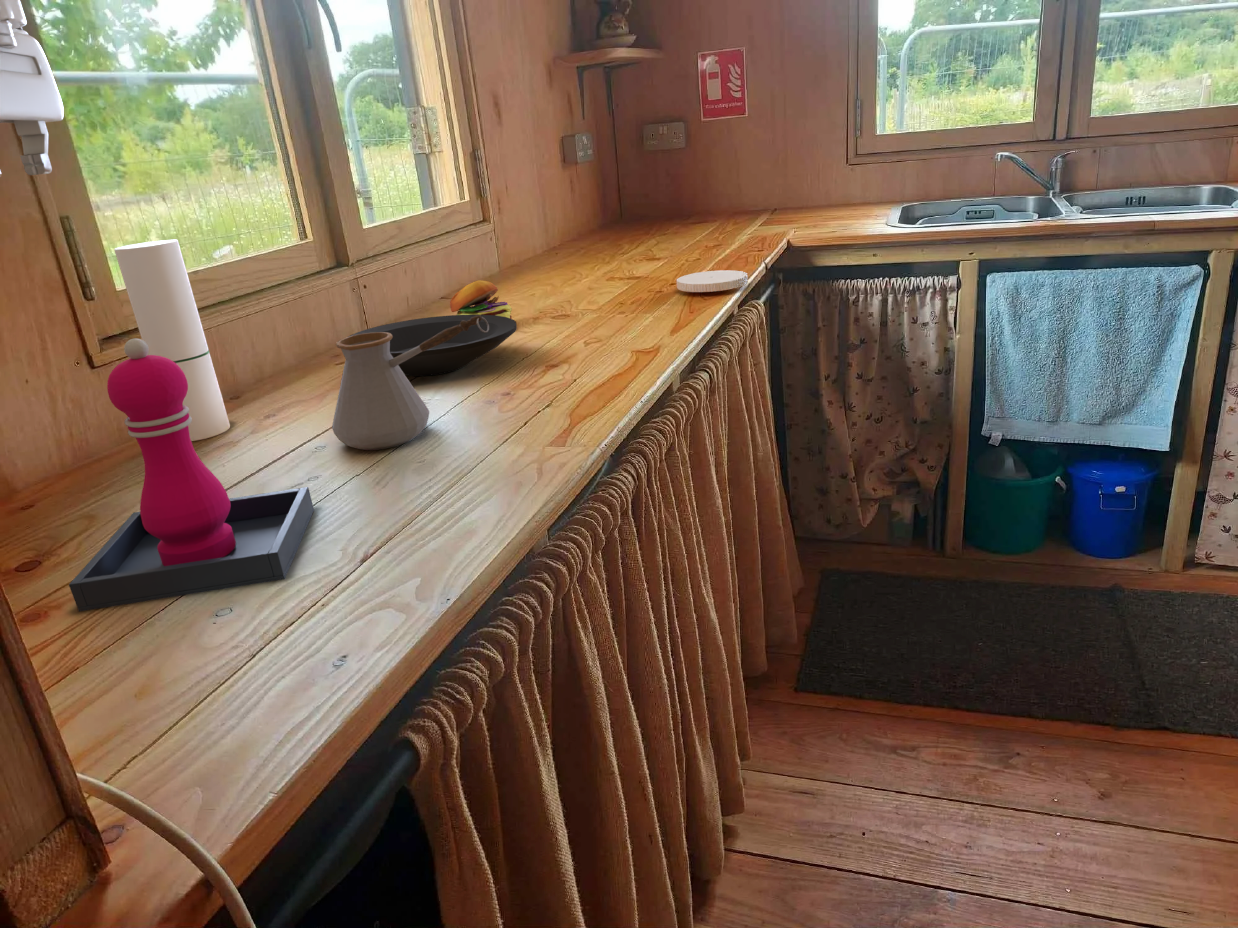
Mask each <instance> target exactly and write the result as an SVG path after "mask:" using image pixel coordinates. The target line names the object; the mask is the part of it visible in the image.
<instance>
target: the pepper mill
mask: <svg viewBox="0 0 1238 928" xmlns="http://www.w3.org/2000/svg"><path fill="white" fill-rule="evenodd" d="M123 347H124V348H123V349H124V354H125V356H127V357H128V359H126V360H123V361H122V362H119V363H118V364H117V365H116V366H115V367H114V368H113V369H112V370H111V372H110V373H109V375H108V378H107V382H106V383H107V386H106V388H107V394H108V398H109V401H110V403H111V404H112V405H113V406H114V407H115V408H116V409H117V410H118V411H120V412H122V413H123V414H125V415H126V416H127V417H126V418H125V419H124V425H125V426H126V427H127V429H128V431H127V435H128V436H129V437H132V438H135V440H136V442H137V444H138V446H139V448H140V450H141V451H140V452H141V456H142V459H143V464H144V477H143V478H144V479H143V485H142V490H141V495H140V502H139V512H140V514H141V519H142V524H143V526H144V528H145V530H146V531H147V532H148V533H149V534H151V535H153V536H154V537H156V538H158V539H160V540H161V541H160V542H159V544H158V546H157V549H158V552H159V555H160V558H161V561H162V564H163V565H164V566H169V565H176V564H182V563H189V562H195V561H202V560H208V559H215V558H221V557H225V556H226V555H228V554H229V553H231V552H232V551H233V549H234V548H235V545H236V541H235V537H234V534H233V531H232V527H231V526H230V525H228V524H226V523H224V522H225V520H226V518H227V516H228V514H229V511H230V507H231V504H230V500H229V498H230V497H229V495H228V492H227V490H226V489H225V487H224V486H223V484H222V482H221V481H220V480H219V479H218V478H217V476H216V475H215V474H214V473H213V472H212V471H211V469H209V468H208V467H207V466H206V465H205V464H204V462H203V461H202V460H201V458H200V457H199V455H198V454H197V452H196V450H195V448H194V445H193V441H191V439H190V434H189V428H188V425H189V424H190V423H191V422H192V418H191V417H190V416H189V413H188V412H189V408H188V407H187V406H185V405H183V400H184V398H185V397H186V394H187V391H188V383H187V379H186V377H185V374H184V372H183V371H182V369H181V368H180V367H179V366H178V365H177V364H176V363H175V362H173V361H172V360H170V359H168V358H166V357H162V356H157V355H147V354H148V352H149V348H148V346H147V344H146V342H144V341H143V340H142V338H136V337H135V338H131V339H129V340H127V341H126V342H125V344H124V346H123Z"/></svg>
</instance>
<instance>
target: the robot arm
mask: <svg viewBox="0 0 1238 928" xmlns="http://www.w3.org/2000/svg"><path fill="white" fill-rule="evenodd" d="M27 23H28V22H27V18H26V15H25V11H24V8H23V5H22V1H21V0H0V124H14V127H15V131H16V134H17V136H18V137H21V143H22V151H23V155H19V156H20V160H21V162H22V165H23V169H24V172H25V173H26V174H27V175H28V176H40V175H48V174H51V173H52V172H53V167H52V164H51V161H50V157H49V132H48V128H47V125H46V123H52V122H53V123H54V122H61V121H63V119H64V104H63V100H62V97H61V94H60V92H59V89H58V86H57V83H56V80H55V77H54V75H53V71H52V69H51V65H50V64H49V61H48V58H47V56H46V54H45V51H44V50H43V48H42V46H41V45H40V43H39V41H38V40H37V39H36V37H34V36H32V35H29V33H28V32H27V31H26V30H24V28H23V27H25V26H26V25H27ZM1 177H2V170H0V178H1Z"/></svg>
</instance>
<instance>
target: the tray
mask: <svg viewBox="0 0 1238 928" xmlns="http://www.w3.org/2000/svg"><path fill="white" fill-rule="evenodd" d="M229 500H230V504H231V507H230V511H229V514H228V516H227V518H226V520H225V522H224V523H226V524H228V525H230V526H231V527H232V531H233V534H234V537H235V541H236V545H235V548H234V549H233V551H232V552H231V553H229V554H228V555H226V556H225V557H221V558H215V559H208V560H202V561H195V562H189V563H182V564H176V565H169V566H164V565H163V564H162V561H161V558H160V555H159V552H158V549H157V546H158V544H159V542H160V541H161V540H160V539H158V538H156V537H154V536H153V535H151V534H149V533H148V532H147V531H146V530H145V528H144V526H143V524H142V519H141V514H140V511H135V512H132V513H131V514H130V516H129V517H128V518H127V519H126V520H125V521H124V522H123V524H122V525H120V527H119V528H117V530H116V531H115V533H113V535H112V536H111V537H110V538H109V539H108V540H107V541H106V542H105V543H104V544H103V546H102V547H101V548H100V549H99V550H98V551H97V552H96V553H95V555H94V556H93V557H92V558H91V559H90V561H88V563H86V564H85V565H84V567H83V568H82V569H81V570H80V571H79V573H77V574H76V576H75V577H74V578H73V579H72V580H71V581H70V582H69V584H68V587H69V589H70V592H71V594H72V597H73V600H74V602H75V605H76V608H77V610H78V612H85V611H92V610H99V609H105V608H111V607H118V606H124V605H129V604H130V605H131V604H136V603H142V602H149V601H154V600H161V599H168V598H174V597H179V596H188V595H193V594H194V595H195V594H199V593H205V592H211V591H217V590H224V589H225V590H226V589H230V588H231V589H232V588H236V587H245V586H250V585H257V584H263V583H270V582H276V581H282V580H285V579H286V578H287V575H288V573H289V570H290V568H291V566H292V563H293V561H294V558H295V556H296V554H297V551H298V549H299V547H300V544H301V542H302V540H303V537H304V535H305V533H306V530H307V528H308V526H309V523H310V521H311V518H312V516H313V513H314V511H315V508H314V504H313V500H312V497H311V492H310V488H309V486H304V487H298V488H290V489H284V490H277V491H270V492H263V493H257V494H249V495H243V496H237V497H229Z"/></svg>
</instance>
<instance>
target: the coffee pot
mask: <svg viewBox="0 0 1238 928" xmlns="http://www.w3.org/2000/svg"><path fill="white" fill-rule="evenodd" d="M482 319H484V321H485V322H486V324H487V331H484V330H482V329H481V327H480V326H479V323H478V322H480V321H481V320H482ZM476 324H477V325H478V328H479V329H480V330H481V331H482V332H488V330H489V324H488V322H487V321H486V319H485V318H483V317H482V316H481V315H478V316H474V317H471V318H470V320H468V321H464V320H462V321H461V322H460V324H459V325H456V326H453V327H451V328H447V329H445V330H443V331H441V332H440V333H438V334H437V335H435V336H433V337H432V338H430V339H428V340H427V341H425V342H423V343H422V344H420V345H419V346H417V347H415V348H413V349H411V350H409V351H407V352H405V353H403V354H401V355H399V356H397V357H395V358H393V357H392V355H391V354H390V340H391V339H392V337H393V336H392V334H391V333H387V332H374V333H365V334H359V335H354V336H350V335H349V336H350V337H348V336H347V338H346V337H344V338H341V339H339V340H338V341H336V343H335V345H336V347H337V348H338V349H340V350H341V352H342V355H343V356H344V359H345V361H344V365H343V370H342V376H341V381H340V386H339V390H338V395H337V399H336V400H337V401H336V405H335V410H334V415H333V420H332V425H331V429H332V431H333V435H334V436H335V438H337V439H338V440H339V441H340V442H342V443H343V444H345V445H346V446H348V447H350V448H355V449H357V450H362V451H380V450H385V449H390V448H395V447H398V446H401V445H404V444H406V443H409V442H410V441H412V440H414V439H415V438H416V437H417V436H419V435H420V434H421V433H422V432H423V431H424V429H425V428H426V426H427V424H428V421H429V418H430V410H429V408H428V407H427V405H426V404H425V402H424V401H423V399H422V398H421V396H420V395H419V393H418V392H417V390H416V389H415V387H414V385H412V383H411V382H410V379H408V377H407V375H406V374H404V373H403V371H402V370H401V368H400V367H399V364H401V363H402V362H404V361H406V360H408V359H410V358H411V357H413V356H415V355H417V354H419V353H420V352H422V351H426V350H428V349H430V348H432V347H435V346H437V345H439V344H441V343H444V342H446V341H448V340H450V339H452V338H453V337H454V336H456V335H457V334H459V333H460V332H461V331H463V330H464V331H467V330H468V329H469V327H470V326H472V325H476Z"/></svg>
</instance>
